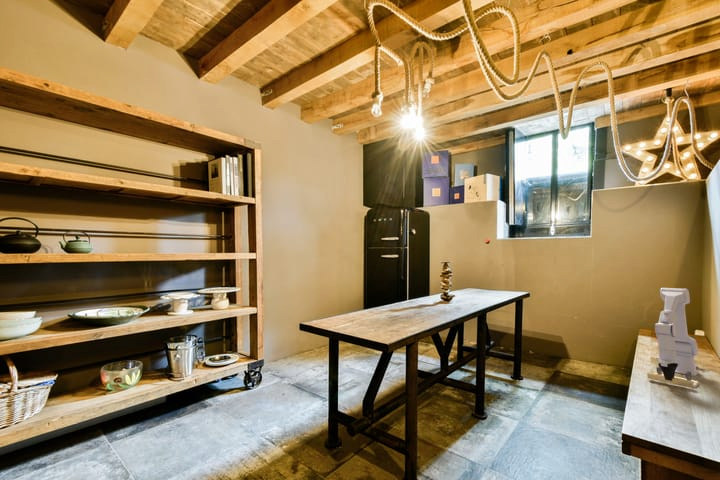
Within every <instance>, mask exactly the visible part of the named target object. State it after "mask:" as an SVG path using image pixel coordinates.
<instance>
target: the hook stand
mask: <svg viewBox="0 0 720 480" xmlns="http://www.w3.org/2000/svg"><path fill="white" fill-rule="evenodd" d="M655 369H656V372H654V373H655V374H660V375H664V374H663V372H662V370H661V368H660V367H659V365H658V366H656V368H655ZM684 375H685V378H684V377H679V376H675V375H674V377H675V378H680V379H685V380H690V381H693V384H694V387H693V388H696V387H698V385H699V380H694V379H692V377H693V376H692V375H691V372H690V371H687V373H685V374H684Z"/></svg>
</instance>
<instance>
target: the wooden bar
mask: <svg viewBox="0 0 720 480" xmlns="http://www.w3.org/2000/svg"><path fill="white" fill-rule="evenodd" d="M655 373H656V372H649V371H648V372H647V373H646V375H647V379H649V380H654V381H658V382H662V383H668V384H673V385H677V386H682V387H687V388H689V389H693V388H695V387H694V384H693V381H690V380H685V379H686V378H684V379H680V378H681V377H680V378H675V377H676V376H675V377H673V379H672V381H668V380H665V377H664V375H660V374H655Z"/></svg>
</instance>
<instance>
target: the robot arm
mask: <svg viewBox="0 0 720 480" xmlns="http://www.w3.org/2000/svg"><path fill="white" fill-rule="evenodd" d="M659 296H660V299H661V300H662V301H663V302H664V306H663V307H664V308H663V310H661V311H660V312H659V313H660V314H659V318H658V322H657V323H655V324H654V330H655V335H656V337H655V338H656V339H657V344H658V345H657V346H658V356H656V357H655V359H656V360H659V363H658V366H659V367H660V368H661V370H662V374H664V377H665V380H668V381H672V379H673V377H674V376H675V375H676V374H675V373H679V374H681V375H682V374H683V375H686V374H685V373H687V371H690V372H691V376H692V377H695V376H697V375H698V374H699V373H700V371H698V370H696V369H697V368H696V359H695V357H696V356H698V354H699V346H698V342H697V340H696V339H695V338H693V337H691V336H690V335H689V333H688V325H687V316H686V314H687V313H686V305H688V304H690V302H691V299H690V297H691V296H690V292H689V289H688V288H684V287H683V288H677V287H676V288H674V287H672V288H671V287H661V288H660V289H659Z"/></svg>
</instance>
